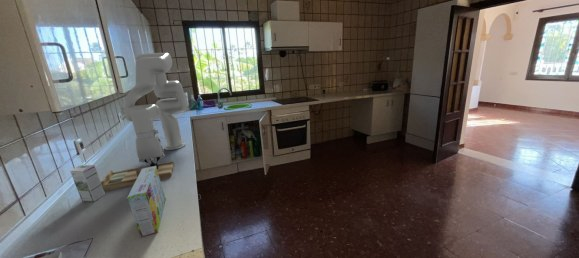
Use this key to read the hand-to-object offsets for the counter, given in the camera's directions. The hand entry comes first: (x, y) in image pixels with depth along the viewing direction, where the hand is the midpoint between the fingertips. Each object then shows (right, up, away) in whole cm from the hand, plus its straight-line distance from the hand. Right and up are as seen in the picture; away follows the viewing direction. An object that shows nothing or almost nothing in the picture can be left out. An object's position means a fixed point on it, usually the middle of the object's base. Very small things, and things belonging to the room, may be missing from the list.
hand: (155, 170), depth 112 cm
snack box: (+16, -12, -28) cm, 34 cm away
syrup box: (-18, -9, -14) cm, 25 cm away
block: (-4, -2, -1) cm, 5 cm away
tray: (-8, -4, +2) cm, 9 cm away
